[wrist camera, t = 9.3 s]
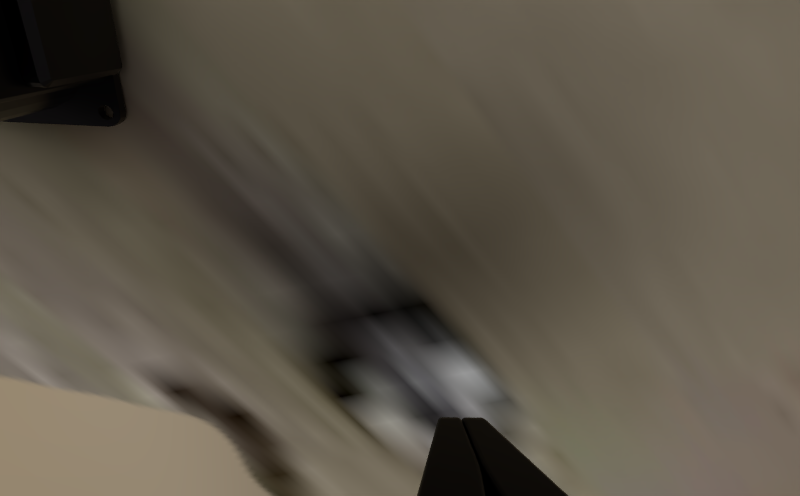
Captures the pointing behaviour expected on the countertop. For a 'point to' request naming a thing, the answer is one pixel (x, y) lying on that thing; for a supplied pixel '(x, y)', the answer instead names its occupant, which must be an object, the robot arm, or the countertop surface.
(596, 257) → the countertop surface
